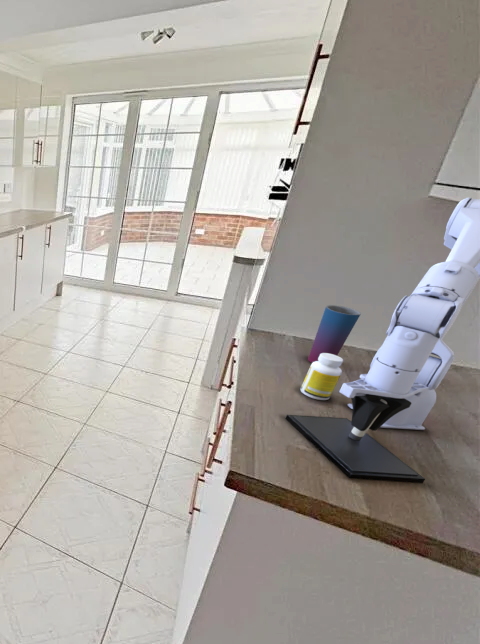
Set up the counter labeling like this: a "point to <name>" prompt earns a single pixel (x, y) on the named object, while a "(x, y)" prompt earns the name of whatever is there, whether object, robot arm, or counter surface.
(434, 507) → the counter surface
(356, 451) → the tablet
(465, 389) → the counter surface
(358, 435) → the stylus
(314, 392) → the supplement bottle
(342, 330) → the cup
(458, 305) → the robot arm
